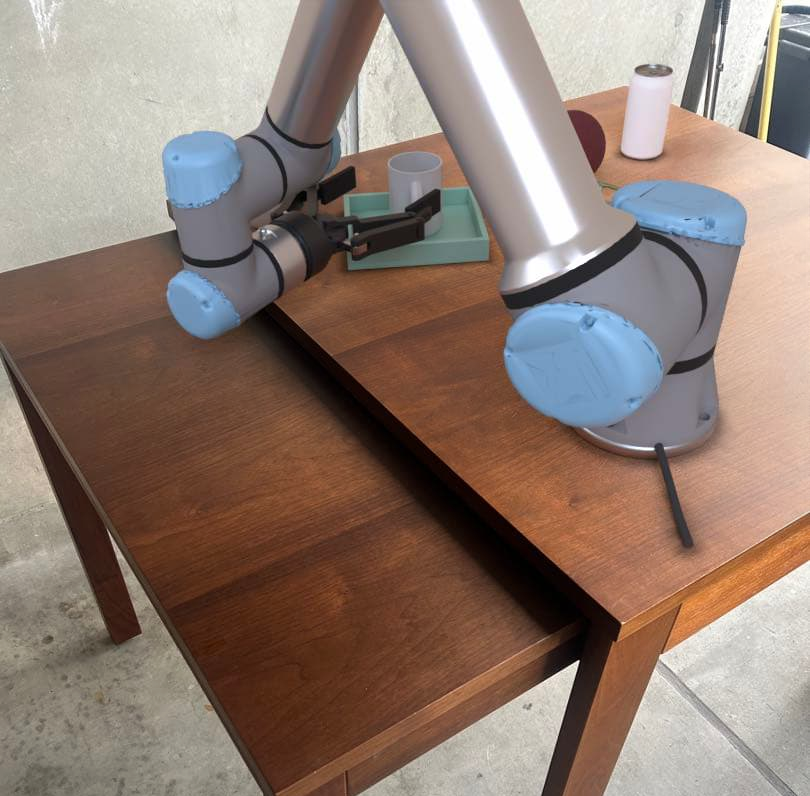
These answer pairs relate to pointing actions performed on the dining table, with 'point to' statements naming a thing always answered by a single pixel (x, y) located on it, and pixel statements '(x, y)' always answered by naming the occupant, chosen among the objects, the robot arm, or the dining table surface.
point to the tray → (452, 243)
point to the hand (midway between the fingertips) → (394, 187)
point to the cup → (415, 183)
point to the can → (647, 111)
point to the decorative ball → (589, 137)
